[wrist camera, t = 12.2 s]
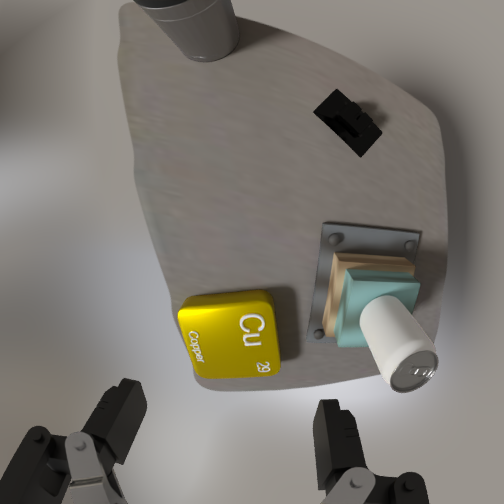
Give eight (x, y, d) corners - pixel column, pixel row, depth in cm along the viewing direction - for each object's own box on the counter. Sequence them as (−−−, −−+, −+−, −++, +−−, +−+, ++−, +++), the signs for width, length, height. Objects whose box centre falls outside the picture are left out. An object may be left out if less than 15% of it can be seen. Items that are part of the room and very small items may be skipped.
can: (371, 288, 32) (408, 343, 21) (409, 299, 32) (452, 351, 21) (350, 330, 34) (374, 393, 23) (388, 339, 34) (419, 397, 23)
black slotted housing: (391, 137, 35) (404, 134, 31) (362, 169, 37) (372, 170, 33) (330, 78, 33) (337, 69, 29) (299, 110, 35) (302, 103, 31)
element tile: (181, 295, 45) (172, 309, 41) (271, 286, 43) (271, 301, 39) (202, 364, 49) (196, 381, 45) (281, 360, 48) (281, 377, 43)
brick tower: (322, 222, 39) (335, 238, 31) (416, 232, 38) (445, 248, 30) (306, 338, 45) (311, 373, 37) (389, 339, 45) (406, 369, 36)
